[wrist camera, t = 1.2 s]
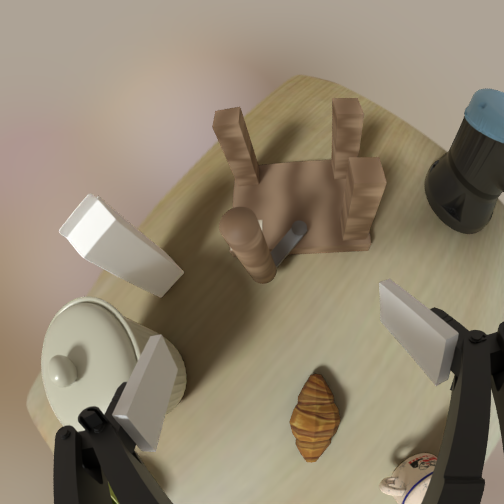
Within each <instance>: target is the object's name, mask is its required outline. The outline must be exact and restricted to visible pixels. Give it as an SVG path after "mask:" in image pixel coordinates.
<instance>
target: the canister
mask: <svg viewBox="0 0 504 504" xmlns="http://www.w3.org/2000/svg"><path fill="white" fill-rule="evenodd" d="M154 335H160V334H158V333H156V332H155V331H153V330H151V329H149V328H147V327H145V326H143V325H141V324H138V323H136V322H134V321H132V320H130V319H128V318H126V317H124V316H123V315H122V314H121V313H120V312H119V311H118V310H117V309H116V308H115V307H114V306H112V305H111V304H110V303H108V302H106V301H104V300H102V299H99V298H96V297H80V298H77V299H74V300H72V301H70V302H68V303H67V304H66V305H64V306H63V307H62V308H61V309H60V310H59V311H58V312H57V314H56V315H55V317H54V318H53V320H52V322H51V323H50V325H49V328H48V330H47V333H46V336H45V339H44V343H43V349H42V359H41V368H42V378H43V383H44V387H45V391H46V395H47V398H48V400H49V403H50V405H51V407H52V409H53V411H54V413H55V415H56V416H57V418H58V419H59V421H60V422H61V424H62V425H63V426H66V425H71V426H73V427H74V428H75V429H76V430H77V432H79V431H84V430H85V429H84V428H83V427H82V426H81V424H80V423H79V422H78V416H79V414H80V413H81V412H82V411H83V410H84V409H86V408H88V407H91V406H96V407H99V409H100V410H101V411H102V412H103V414H105V412H106V410H107V408H108V406H109V404H110V402H111V401H112V398H113V396H114V394H115V392H116V390H117V388H118V387H119V386H120V385H121V384H122V383H123V382H128V380H129V378H130V376H131V374H132V372H133V370H134V368H135V366H136V364H137V362H138V360H139V358H140V356H141V354H142V352H143V350H144V348H145V346H146V344H147V342H148V340H149V338H150V336H154ZM163 339H164V341H165V343H166V345H167V347H168V350H169V352H170V354H171V356H172V358H173V360H174V362H175V364H176V366H177V368H178V371H177V375H176V378H175V382H174V385H173V389H172V392H171V396H170V399H169V403H168V407H167V410H166V414H168V413H169V412H171V411H172V410H173V409H174V408H175V407H176V406H177V405H178V403H179V402H180V401H181V398H182V396H183V395H184V391H185V389H186V383H187V381H186V376H187V375H186V368H185V366H184V361H183V360H182V357H181V355H180V354H179V352H178V350H177V349H176V348H175V347H174V345H173V344H172V343H170V342H169V340H168V339H166V338H165V337H163ZM166 414H165V415H166Z"/></svg>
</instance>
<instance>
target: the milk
mask: <svg viewBox="0 0 504 504" xmlns="http://www.w3.org/2000/svg"><path fill="white" fill-rule="evenodd" d="M59 233H60V234H61V235H62V236H64V237H66V238H67V239H68V240H69V242H70V243H71V244H72V245H73V247H74V248H75V249H76V250H77V251H78V253H79V254H80V255H81V256H82V257H83V258H84V259H86V260H88V261H90V262H91V263H93V264H95V265H97V266H99V267H101V268H102V269H104V270H106V271H108V272H110V273H112V274H114V275H116V276H118V277H119V278H121V279H123V280H125V281H127V282H129V283H131V284H133V285H135V286H137V287H139V288H141V289H143V290H146V291H148V292H150V293H152V294H154V295H156V296H158V297H160V298H162V297H163V295H164V294H165V293H166V292H167V291H168V290H169V289H170V288H171V287H172V286H173V284H174V283H175V282H176V281H177V280H178V279H179V278H180V277H181V276H182V275H183V274H184V271H183V270H182V269H181V268H180V267H179V266H178V265H177V264H176V263H175V262H174V261H173V260H172V258H171V257H170V256H169V255H168V254H167V253H166V252H165V251H164V250H162V249H161V248H160V247H159V246H158V245H156V244H155V243H154V242H153V241H151V240H150V239H149V238H148V237H146V236H145V235H144V234H143V233H142V232H140V231H139V230H138V229H137V228H136V227H134V226H133V225H132V224H131V223H130V222H128V221H127V220H126V219H125V218H124V217H122V216H121V215H120V214H119V213H118V212H117V211H115V210H114V209H113V208H112V207H111V206H110V205H109V204H107V203H106V202H105V201H104V200H103V199H102V198H101V197H99V196H97V198H96V197H95V196H94V195H93V194H88V195H87V196H86V197H85V199H84V200H83V201H82V202H81V203H80V205H79V206H78V207H77V208H76V209H75V211H74V212H73V213H72V214H71V216H70V217H69V218H68V219H67V221H66V222H65V223H64V225H63V226H62V227H61V228H60V230H59Z"/></svg>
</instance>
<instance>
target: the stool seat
mask: <svg viewBox="0 0 504 504" xmlns="http://www.w3.org/2000/svg"><path fill="white" fill-rule="evenodd" d="M363 118H364V113H363V110H362V108H361V105H360V103H359V101H358V98H332V160H317V161H301V162H287V163H276V164H265V165H258V163H257V159H256V156H255V153H254V150H253V146H252V143H251V140H250V137H249V133H248V130H247V127H246V124H245V121H244V118H243V114H242V111H241V108H240V107H235V108H230V109H224V110H218V111H215V116H214V121H213V126H212V127H213V130H214V132H215V134H216V136H217V139H218V141H219V143H220V145H221V148H222V150H223V152H224V154H225V157H226V159H227V161H228V164H229V166H230V168H231V170H232V173H233V175H234V177H235V182H234V195H233V208H235V207H246V208H249V209H251V210H252V211H253V212H254V213H255V215H256V217H257V219H258V222H259V224H260V227H261V230H262V232H263V235H264V237H265V240H266V242H267V245H268V247H269V250H270V252H271V251H272V250H273V249H274V248H275V247H276V245H277V244H278V243H279V242H280V241H281V239H282V238H283V237H284V236H285V235H286V234H287V232H288V231H289V230H290V229H291V228H292V224H293V223H294V222H295V221H303V222H305V223H306V225H307V233H306V235H305V236H303V237H302V238H301V240H300V241H299V242H298V243H297V244H296V246H295V247H294V248H293V249H292V250H291V252H290V253H289V254H288V255H291V254H311V253H330V252H349V251H368V250H369V248H370V246H371V239H370V232H369V230H370V228H371V225H372V222H373V220H374V217H375V215H376V212H377V209H378V206H379V204H380V201H381V198H382V195H383V192H384V189H385V187H386V184H387V182H386V178H385V175H384V171H383V168H382V165H381V161H380V158H379V157H358V155H359V149H360V142H361V134H362V126H363ZM230 253H231V254H232V255H233V257H237V256H236V254H235V253H234V252H233V250H232V249H231V247H230Z"/></svg>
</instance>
